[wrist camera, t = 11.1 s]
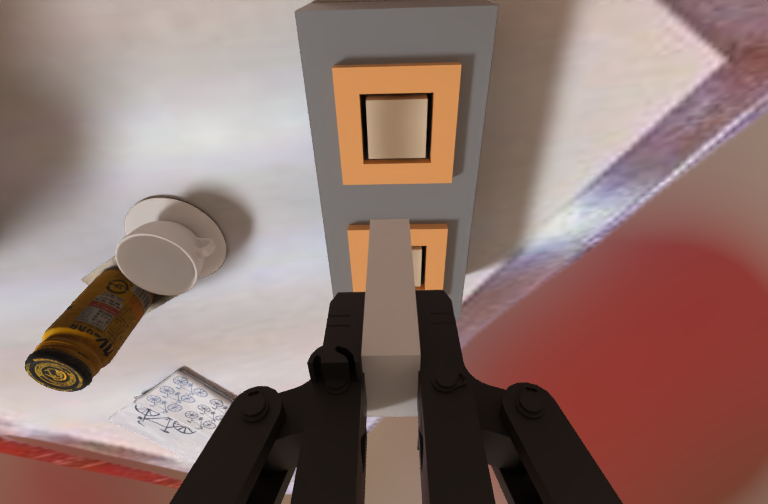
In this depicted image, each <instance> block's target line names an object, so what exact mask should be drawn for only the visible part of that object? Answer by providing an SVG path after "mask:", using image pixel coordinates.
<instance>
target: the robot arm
mask: <svg viewBox="0 0 768 504" xmlns="http://www.w3.org/2000/svg"><path fill="white" fill-rule="evenodd" d="M307 364H308V368H309V373H310V378H311V379H310V380H309V381H308V382H306V383H305V384H303V385H301V386H299V387H297V388H294V389H291V390H287V391H284V392H281V393H277V391H276V390H274V389H272V388H270V387H268V386H257V387H254V388H250V389H247V390H246V391H244V392H243V393H241V394H240V395H238V396H237V398H236V399H235V400H234V401H233V402H232V403H231V405H230V407H229V408H228V410H227V412H226V413H225V415H224V416H223V418H222V420H221V421H220V423H219V424H218V426H217V428H216V429H215V431H214V433H213V434H212V436H211V437H210V439H209V441H208V442H207V444H206V446H205V447H204V449H203V450H202V452H201V454H200V455H199V457H198V458H197V460H196V462H195V463H194V465H193V467H192V468H191V470H190V471H189V473H188V475H187V476H186V478H185V479H184V481H183V483H182V484H181V486H180V488H179V489H178V491H177V492H176V494H175V496H174V497H173V499H172V501H171V502H170V504H281V502H282V500H283V497H284V495H285V492H286V490H287V488H288V485H289V483H290V480H291V478H292V476H293V473H294V471H295V468H296V467H297V470H296V475H295V481H294V487H293V492H292V498H291V504H364V501H365V500H364V499H365V475H366V474H365V473H366V451H367V449H366V448H367V430H366V419H367V417H380V416H418V424H419V428H418V450H419V458H420V474H421V490H422V504H495V499H494V494H493V489H492V483H491V478H490V473H489V469H488V464H489V465H491V466H492V468H493V471H494V473H495V475H496V478H497V480H498V482H499V484H500V487H501V489H502V491H503V493H504V496H505V498H506V500H507V502H508V504H623V503H622V501H621V500H620V499H619V497H618V495H617V494H616V493H615V491H614V489H613V488H612V486H611V485H610V483H609V482H608V480H607V479H606V477H605V476H604V474H603V473H602V471H601V470H600V468H599V466H598V465H597V463H596V462H595V460H594V459H593V457H592V456H591V454H590V453H589V451H588V450H587V448H586V447H585V445H584V444H583V442H582V441H581V439H580V438H579V436H578V435H577V433H576V432H575V430H574V428H573V427H572V425H571V424H570V422H569V421H568V419H567V418H566V416H565V415H564V413H563V412H562V410H561V409H560V407H559V406H558V404H557V403H556V401H555V400H554V399H553V398H552V396H551V395H550V394H549V393H548V392H547V391H546V390H544V389H542V388H541V387H539V386H537V385H534V384H530V383H516V384H513V385H511V386H509V387H508V388H507V390H504V389H501V388H497V387H494V386H489V385H487V384H485V383H482V382H480V381H479V380H477V379H475V378H474V377H473V376H472V375H471V374H470V373H469V372H468V370H467V369H466V367H465V365H464V362H463V358H462V352H461V347H460V342H459V337H458V331H457V326H456V321H455V315H454V310H453V305H452V300H451V299H450V298H449V296H448V295H447V294H446V293H445V291H444V290H415V282H414V270H413V259H412V247H411V235H410V223H409V219H370V231H369V246H368V261H367V276H366V291H365V292H338V293H337V294H336V296H335V297H334V298H333V300H332V301H331V303H330V307H329V313H328V319H327V325H326V331H325V337H324V343H323V346H321V347H319V348H317V349H316V350H315V351H314V352H313V353H312V354H311V356H310V358H309V360H308V363H307Z"/></svg>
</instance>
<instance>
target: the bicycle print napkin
mask: <svg viewBox="0 0 768 504" xmlns="http://www.w3.org/2000/svg"><path fill="white" fill-rule="evenodd" d="M134 398H135V399H136V400H135V401H133V402H132V403H130V404H129V405H127V406H126V407H124V408H123V409H121V410H119V411H118V412H116V413H115V414H114V415H113V416H111V417H110V418H109V421H110V422H111V423H114V424H117V425H119V426H120V427H122V428H125V429H127V430H129V431H131V432H133V433H135V434H137V435H139V436H141V437H143V438H145V439H147V440H149V441H151V442H153V443H155V444H157V445H159V446H161V447H163V448H165V449H168V450H170V451H172V452H174V453H175V454H177V455H179V456H181V457H183V458H185V459H187V460H189V461H191V462H193V463H195V462H196V460H197V458H198V457H199V455H200V454H201V452H202V450H203V449H204V447H205V446H206V444H207V442H208V441H209V439H210V437H211V436H212V434H213V433H214V431H215V429H216V428H217V426H218V424H219V423H220V421H221V420H222V418H223V416H224V415H225V413H226V412H227V410H228V408H229V407H230V405H231V403H232V402H233V401H234V400H233V399H231V398H229V397H228V396H226V395H224V394H223V393H221V392H220V391H218V390H216V389H215V388H213V387H211V386H210V385H208V384H206V383H205V382H203V381H201V380H200V379H198V378H196V377H194V376H193V375H191V374H189V373H187V372H186V371H184V370H181V371H179V370H178V371H176V372H174V373H173V374H172V375H171V376H169V377H168V378H167V379H165V380H164V381H163V382H161V383H160V384H159V385H157V386H156V387H154V388H153V389H152V390H150V391H149V392H147V393H146V394H144V395H140V396H136V397H134ZM179 422H180V423H182V424H184V425H186V426H188V427H190V428H187V427H183V426H181V425H179Z"/></svg>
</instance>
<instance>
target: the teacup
mask: <svg viewBox="0 0 768 504" xmlns="http://www.w3.org/2000/svg"><path fill="white" fill-rule="evenodd" d="M124 228H125V234H126V236H125V237H124V238H123V239H122V240H121V241H120V242H119V243H118V245H117V247H116V250H115V259H116V262H117V265H118V267H119V269H120V270H121V272H122V273H123V274H124V275H125V276H126V277H127V278H128V279H129V280H130V281H131V282H133V283H134V284H135V285H137V286H139V287H140V288H142V289H144V290H147V291H149V292H152V293H156V294H160V295H179V294H183V293H185V292H187V291H189V290H190V289H192V288H193V287H194V285H195V284H196V282H197V280H198V278H201V277H205V276H208V275H210V274H212V273H214V272H215V271H217V270H218V269H219V268H220V267H221V266H222V264H223V262H224V260H225V258H226V242H225V239H224V236H223V234H222V232H221V231H220V229H219V228H218V226H217V225H216V224H215V223H214V221H213V220H212V219H211V218H210V217H208V216H207V215H206V214H205V213H203V212H202V211H201V210H199V209H197V208H196V207H194V206H192V205H190V204H188V203H185V202H183V201H179V200H176V199H171V198H150V199H145V200H143V201H140V202H138V203H137V204H135V205H134V206H133V207H132V208H131V209H130V210H129V212H128V213H127V215H126V218H125V223H124Z"/></svg>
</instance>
